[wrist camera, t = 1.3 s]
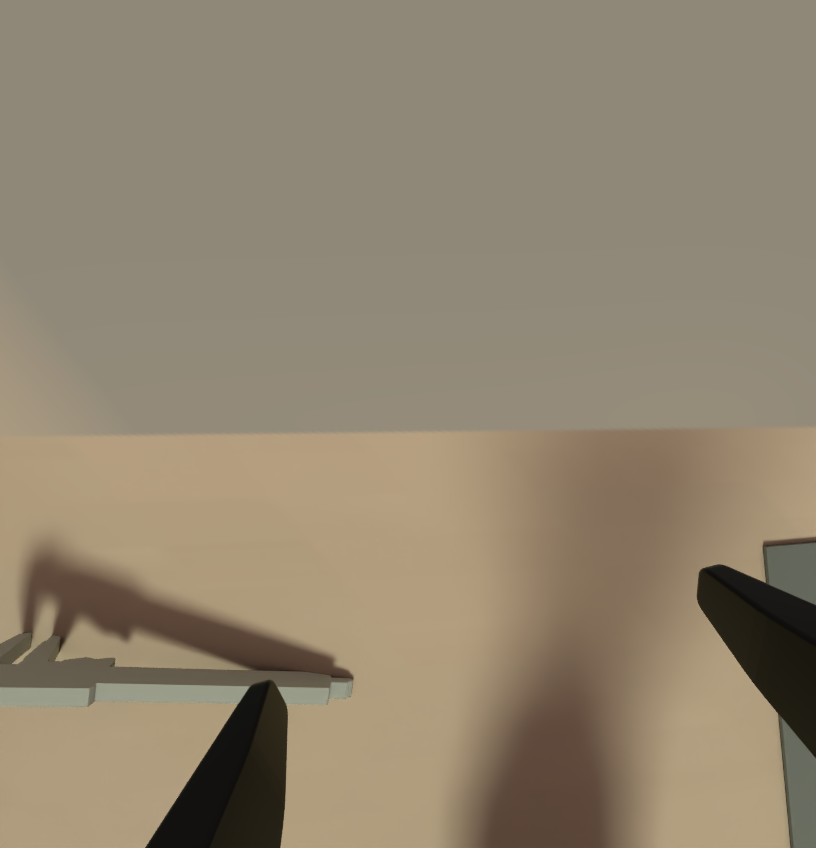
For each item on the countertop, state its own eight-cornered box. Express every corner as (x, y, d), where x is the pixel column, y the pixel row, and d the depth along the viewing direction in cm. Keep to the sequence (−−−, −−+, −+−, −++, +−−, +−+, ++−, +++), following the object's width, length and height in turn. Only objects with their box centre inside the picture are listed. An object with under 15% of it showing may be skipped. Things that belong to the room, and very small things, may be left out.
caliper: (26, 645, 26) (-103, 719, 19) (28, 628, 26) (-100, 696, 19) (352, 692, 25) (328, 784, 19) (354, 674, 25) (331, 761, 19)
